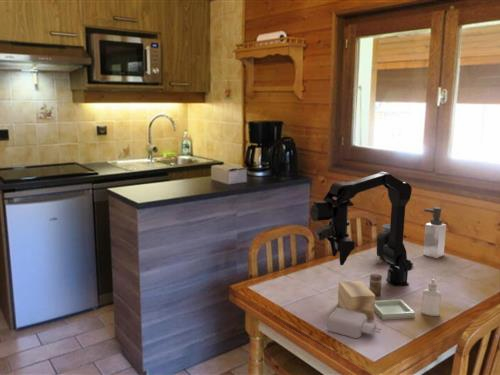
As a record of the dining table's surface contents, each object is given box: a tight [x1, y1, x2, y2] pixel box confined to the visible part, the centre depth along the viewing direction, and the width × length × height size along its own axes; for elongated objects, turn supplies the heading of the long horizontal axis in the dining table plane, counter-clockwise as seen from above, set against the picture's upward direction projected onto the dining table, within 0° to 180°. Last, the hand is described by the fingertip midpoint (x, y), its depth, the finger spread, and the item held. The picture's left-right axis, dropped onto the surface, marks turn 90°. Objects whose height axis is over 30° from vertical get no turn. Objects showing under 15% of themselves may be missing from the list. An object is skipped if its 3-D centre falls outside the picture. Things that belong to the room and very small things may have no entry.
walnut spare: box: [369, 273, 383, 297], centre depth 166 cm, size 4×4×7 cm
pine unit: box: [337, 280, 376, 320], centre depth 153 cm, size 8×12×8 cm, turn 8°
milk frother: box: [376, 223, 414, 266], centre depth 199 cm, size 14×16×15 cm
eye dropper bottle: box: [420, 278, 442, 317], centre depth 151 cm, size 4×6×12 cm
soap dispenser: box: [422, 206, 447, 259], centre depth 208 cm, size 6×9×22 cm
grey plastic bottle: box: [326, 307, 383, 339], centre depth 140 cm, size 5×9×15 cm
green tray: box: [374, 298, 416, 321], centre depth 153 cm, size 11×10×2 cm
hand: (337, 260), depth 166 cm, fingers open, 9 cm apart
